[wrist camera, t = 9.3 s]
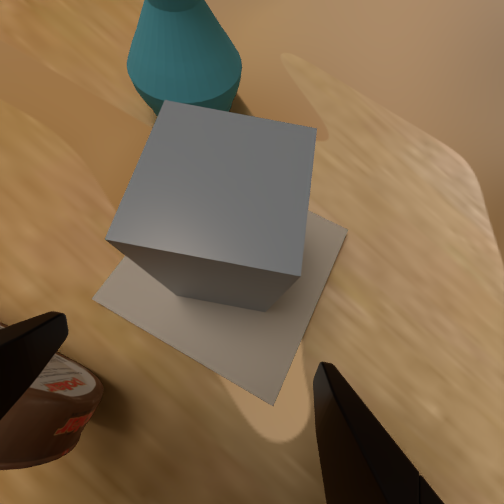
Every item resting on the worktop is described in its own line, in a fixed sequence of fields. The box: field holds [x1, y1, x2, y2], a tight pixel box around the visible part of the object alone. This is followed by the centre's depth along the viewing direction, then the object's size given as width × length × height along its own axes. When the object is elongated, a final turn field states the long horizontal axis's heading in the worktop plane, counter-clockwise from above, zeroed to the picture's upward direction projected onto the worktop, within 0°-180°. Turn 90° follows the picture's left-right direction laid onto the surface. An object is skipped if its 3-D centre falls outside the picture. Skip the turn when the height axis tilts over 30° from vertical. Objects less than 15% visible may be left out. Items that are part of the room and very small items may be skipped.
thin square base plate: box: [92, 210, 348, 406], centre depth 17 cm, size 14×14×5 cm
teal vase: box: [127, 0, 242, 116], centre depth 17 cm, size 9×9×15 cm
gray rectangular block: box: [105, 100, 317, 312], centre depth 14 cm, size 6×6×10 cm
